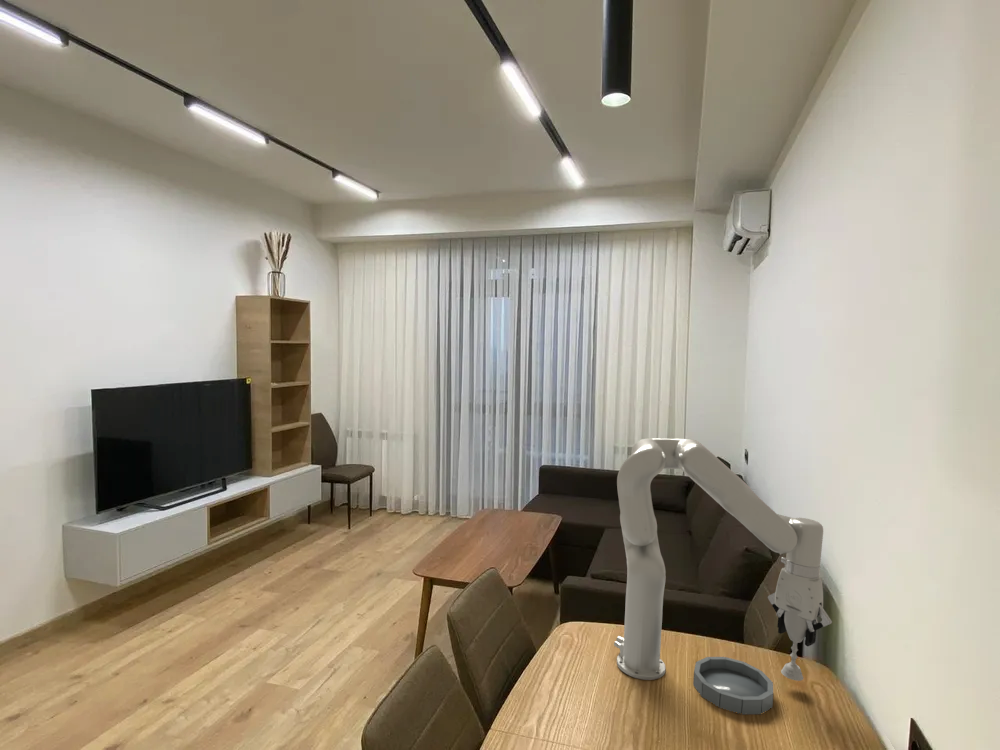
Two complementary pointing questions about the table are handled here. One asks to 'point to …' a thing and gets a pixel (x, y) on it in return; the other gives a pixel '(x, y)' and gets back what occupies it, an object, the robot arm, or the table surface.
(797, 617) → the chalice
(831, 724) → the table surface
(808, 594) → the robot arm
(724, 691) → the bowl
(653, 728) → the table surface
